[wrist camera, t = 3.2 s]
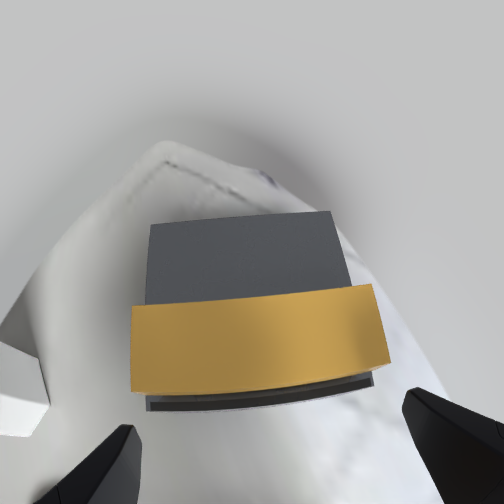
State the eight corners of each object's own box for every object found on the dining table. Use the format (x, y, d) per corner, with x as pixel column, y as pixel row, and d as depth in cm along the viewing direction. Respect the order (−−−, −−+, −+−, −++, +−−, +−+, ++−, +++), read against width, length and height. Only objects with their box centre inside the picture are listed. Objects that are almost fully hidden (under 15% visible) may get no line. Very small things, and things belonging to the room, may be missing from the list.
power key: (374, 370, 13) (391, 362, 12) (145, 395, 13) (131, 391, 11) (358, 299, 15) (371, 283, 14) (144, 319, 15) (132, 305, 13)
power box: (338, 395, 20) (379, 384, 14) (175, 412, 19) (141, 410, 13) (309, 249, 27) (328, 191, 20) (172, 260, 26) (149, 205, 19)
